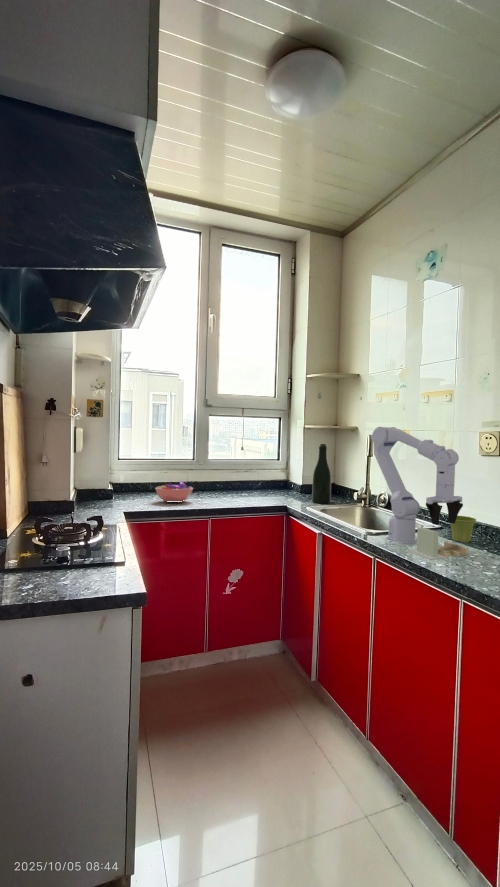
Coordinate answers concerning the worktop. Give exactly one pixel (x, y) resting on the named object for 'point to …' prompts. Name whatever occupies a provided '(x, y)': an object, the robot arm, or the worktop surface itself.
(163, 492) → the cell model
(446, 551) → the offcut upper
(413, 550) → the mat
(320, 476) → the beer bottle
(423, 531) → the block
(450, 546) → the rack
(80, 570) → the worktop surface
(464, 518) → the plant pot
